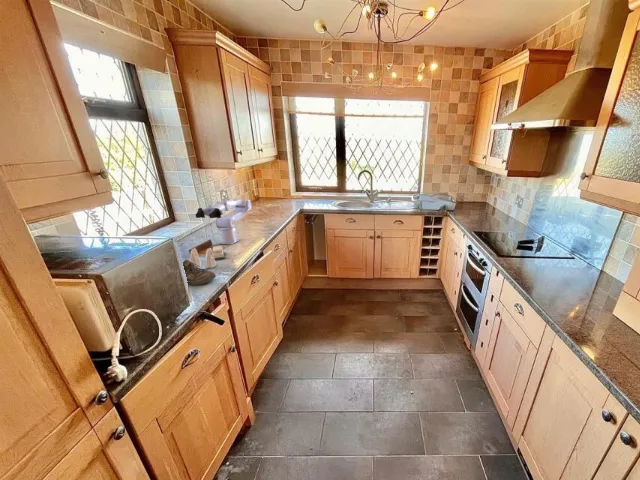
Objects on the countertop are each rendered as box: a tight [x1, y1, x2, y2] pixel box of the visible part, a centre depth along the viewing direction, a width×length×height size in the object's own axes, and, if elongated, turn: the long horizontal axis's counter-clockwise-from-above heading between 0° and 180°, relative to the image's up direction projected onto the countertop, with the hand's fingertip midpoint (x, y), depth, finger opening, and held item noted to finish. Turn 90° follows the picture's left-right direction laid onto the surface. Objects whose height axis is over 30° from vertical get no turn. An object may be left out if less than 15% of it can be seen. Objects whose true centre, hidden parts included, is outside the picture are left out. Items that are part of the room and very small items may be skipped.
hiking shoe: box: [181, 259, 217, 286], centre depth 142 cm, size 9×21×12 cm, turn 89°
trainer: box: [213, 246, 225, 261], centre depth 173 cm, size 11×5×5 cm, turn 26°
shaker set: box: [189, 247, 217, 269], centre depth 155 cm, size 12×4×11 cm, turn 125°
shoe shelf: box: [188, 239, 230, 257], centre depth 183 cm, size 20×12×4 cm, turn 176°
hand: (203, 216), depth 170 cm, fingers open, 7 cm apart
